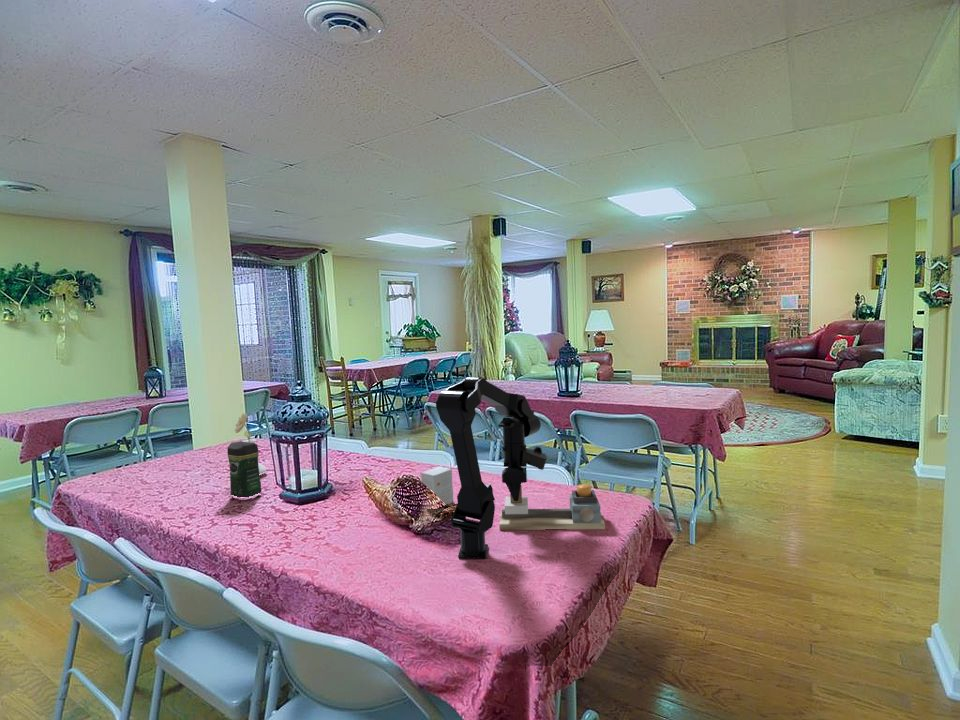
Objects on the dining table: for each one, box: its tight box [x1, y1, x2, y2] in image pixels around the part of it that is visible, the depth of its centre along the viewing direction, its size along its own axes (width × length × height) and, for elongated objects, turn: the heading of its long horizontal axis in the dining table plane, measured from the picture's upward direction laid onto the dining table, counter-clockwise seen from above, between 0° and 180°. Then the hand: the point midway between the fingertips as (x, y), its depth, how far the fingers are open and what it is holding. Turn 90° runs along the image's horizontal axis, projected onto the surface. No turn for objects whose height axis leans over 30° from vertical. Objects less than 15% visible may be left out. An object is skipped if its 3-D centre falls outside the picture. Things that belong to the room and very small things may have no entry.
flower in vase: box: [234, 412, 268, 474], centre depth 188 cm, size 13×11×25 cm
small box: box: [420, 465, 454, 505], centre depth 150 cm, size 8×6×10 cm
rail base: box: [499, 489, 606, 531], centre depth 134 cm, size 10×27×8 cm, turn 85°
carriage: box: [504, 485, 529, 514], centre depth 134 cm, size 7×6×6 cm
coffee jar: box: [227, 440, 262, 497], centre depth 165 cm, size 10×8×19 cm
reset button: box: [576, 483, 592, 497], centre depth 132 cm, size 4×4×2 cm
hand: (516, 498), depth 134 cm, fingers closed on carriage, 3 cm apart
